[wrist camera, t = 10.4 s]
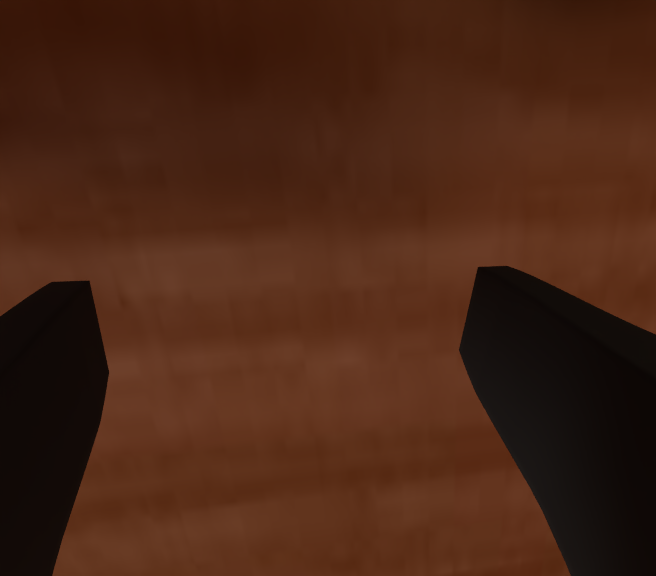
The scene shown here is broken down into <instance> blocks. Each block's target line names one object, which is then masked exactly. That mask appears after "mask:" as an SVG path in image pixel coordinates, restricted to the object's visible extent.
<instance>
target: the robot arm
mask: <svg viewBox="0 0 656 576" xmlns="http://www.w3.org/2000/svg"><path fill="white" fill-rule="evenodd" d="M459 351H460V354H461V357H462V359H463V362H464V365H465V368H466V370H467V373H468V375H469V378H470V380H471V383H472V385H473V387H474V390H475V392H476V394H477V396H478V398H479V400H480V401H481V403H482V405H483V407H484V409H485V410H486V412H487V414H488V416H489V417H490V419H491V421H492V423H493V424H494V426H495V428H496V430H497V431H498V433H499V435H500V436H501V438H502V440H503V442H504V443H505V445H506V447H507V449H508V450H509V452H510V454H511V455H512V457H513V459H514V461H515V462H516V464H517V466H518V468H519V469H520V471H521V473H522V474H523V476H524V478H525V480H526V481H527V483H528V485H529V486H530V488H531V490H532V492H533V494H534V496H535V498H536V500H537V502H538V503H539V505H540V507H541V509H542V511H543V513H544V515H545V518H546V520H547V522H548V524H549V527H550V529H551V531H552V533H553V535H554V538H555V540H556V542H557V544H558V547H559V549H560V551H561V553H562V556H563V558H564V560H565V562H566V565H567V567H568V569H569V572H570V574H571V576H656V335H655V334H653V333H651V332H649V331H646V330H644V329H642V328H640V327H637V326H635V325H633V324H631V323H629V322H626V321H624V320H622V319H620V318H618V317H616V316H614V315H612V314H610V313H607V312H605V311H603V310H601V309H599V308H597V307H595V306H593V305H591V304H589V303H587V302H585V301H583V300H581V299H579V298H577V297H575V296H573V295H571V294H569V293H567V292H565V291H563V290H561V289H559V288H557V287H555V286H553V285H551V284H548V283H546V282H544V281H542V280H540V279H538V278H536V277H534V276H531V275H529V274H527V273H525V272H522V271H520V270H517V269H514V268H511V267H509V266H492V267H478V269H477V274H476V278H475V283H474V287H473V291H472V296H471V300H470V304H469V309H468V313H467V318H466V322H465V326H464V331H463V335H462V339H461V344H460V348H459ZM108 376H109V370H108V365H107V360H106V356H105V351H104V346H103V342H102V337H101V332H100V328H99V323H98V318H97V314H96V309H95V304H94V300H93V295H92V291H91V286H90V281H66V282H51V283H49V284H48V285H46V286H44V287H42V288H41V289H39V290H38V291H36V292H35V293H33V294H32V295H30V296H29V297H27V298H26V299H24V300H23V301H22V302H20V303H19V304H17V305H16V306H14V307H13V308H12V309H10V310H9V311H7V312H6V313H5V314H3V315H2V316H0V576H52V574H53V570H54V566H55V563H56V559H57V556H58V552H59V549H60V545H61V541H62V538H63V535H64V532H65V529H66V526H67V523H68V520H69V517H70V514H71V511H72V508H73V505H74V502H75V499H76V496H77V493H78V490H79V487H80V484H81V481H82V478H83V475H84V471H85V468H86V465H87V462H88V459H89V456H90V453H91V450H92V447H93V444H94V441H95V437H96V434H97V431H98V428H99V425H100V421H101V416H102V411H103V405H104V400H105V394H106V388H107V382H108Z"/></svg>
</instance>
